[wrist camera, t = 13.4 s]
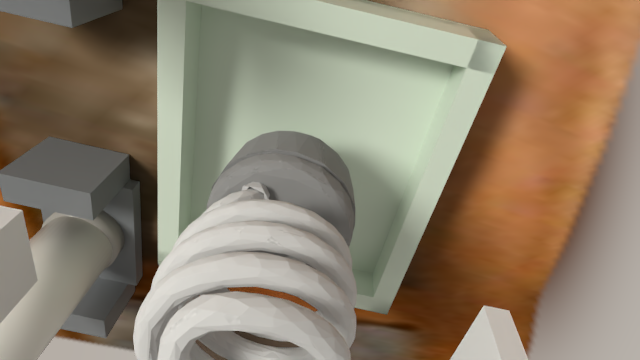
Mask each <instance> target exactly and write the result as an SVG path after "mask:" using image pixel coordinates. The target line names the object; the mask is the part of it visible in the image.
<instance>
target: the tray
mask: <svg viewBox="0 0 640 360" xmlns="http://www.w3.org/2000/svg"><path fill="white" fill-rule="evenodd" d="M506 47H507V46H506V45H505V44H503V43H502V42H501V41H500V40H499V39H498V38H497V37H496V36H495V35H493V34H492V33H491V32H490V31H489V30H487V29H483V28H479V27H474V26H470V25H466V24H462V23H458V22H454V21H450V20H446V19H442V18H437V17H433V16H429V15H425V14H421V13H417V12H413V11H409V10H404V9H400V8H396V7H392V6H388V5H384V4H380V3H376V2H371V1H367V0H157V98H158V265H160V264H161V263H162V262H163V260H164V259H165V258H166V256H167V255H168V254H169V253H170V252H171V251H172V249H173V246H174V244H175V242H176V241H177V239H178V238H179V236H180V235H181V233H182V232H183V231H184V230H185V229H186V228H187V227H188V225H189V224H191V223H192V222H193V221H195V220H196V219H197V218H198V217H200V216H201V215H202V214H203V213H204V212H205V211H206V210H207V202H208V199H209V197H210V194H211V191H212V186H213V184H214V183H215V182H216V180H217V179H218V177H219V176H220V174H221V173H222V171H223V170H224V168H225V167H226V165H227V164H228V163H229V162H230V161H231V160H232V158H233V157H234V156H235V155H236V154H237V153H238V151H239V150H240V149H241V148H242V147H243V146H244V145H245V143H246V142H248V141H250V140H252V139H254V138H255V137H257V136H259V135H261V134H265V133H270V132H274V131H296V132H300V133H304V134H308V135H311V136H314V137H316V138H319V139H321V140H322V141H323V142H324V143H326V144H327V145H328V146H329V147H331V148H332V149H333V150H334V151H336V152H337V153H338V154H339V156H340V157H341V159H342V160H343V162H344V163H345V165H346V166H347V168H348V169H349V173H350V177H351V181H352V186H353V191H354V200H355V227H354V230H353V235H352V239H351V242H350V246H349V250H350V254H351V258H352V272H353V275H354V278H355V281H356V287H357V298H356V305H355V307H354V308H359V309H364V310H368V311H373V312H377V313H382V314H387V313H388V311H389V309H390V307H391V305H392V302H393V300H394V298H395V296H396V293H397V291H398V289H399V287H400V284H401V282H402V280H403V278H404V275H405V273H406V271H407V269H408V266H409V264H410V262H411V260H412V257H413V255H414V253H415V251H416V249H417V246H418V244H419V242H420V240H421V237H422V235H423V233H424V231H425V228H426V226H427V224H428V222H429V219H430V217H431V215H432V213H433V210H434V208H435V206H436V204H437V201H438V199H439V197H440V195H441V193H442V190H443V188H444V186H445V184H446V181H447V179H448V177H449V175H450V172H451V170H452V168H453V166H454V163H455V161H456V159H457V157H458V154H459V152H460V150H461V148H462V145H463V143H464V141H465V139H466V137H467V134H468V132H469V130H470V128H471V125H472V123H473V121H474V119H475V116H476V114H477V112H478V110H479V107H480V105H481V103H482V101H483V98H484V96H485V94H486V92H487V89H488V87H489V85H490V83H491V81H492V78H493V76H494V74H495V72H496V69H497V67H498V65H499V63H500V60H501V58H502V56H503V54H504V51H505V49H506Z"/></svg>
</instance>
